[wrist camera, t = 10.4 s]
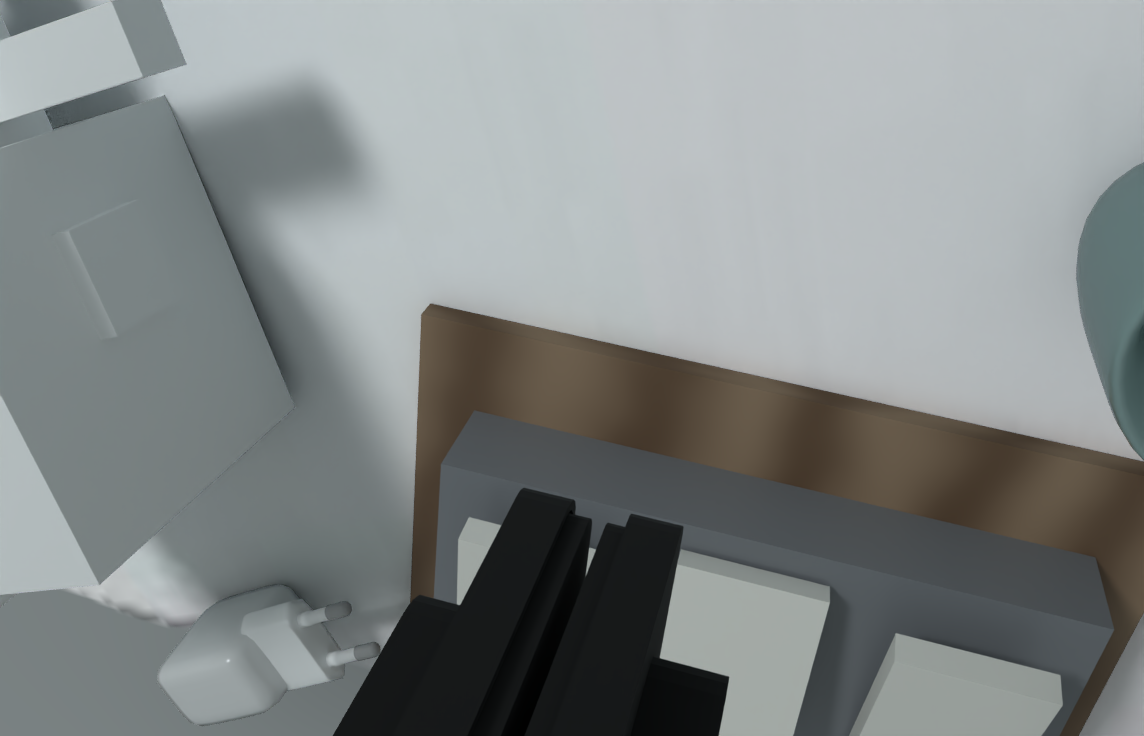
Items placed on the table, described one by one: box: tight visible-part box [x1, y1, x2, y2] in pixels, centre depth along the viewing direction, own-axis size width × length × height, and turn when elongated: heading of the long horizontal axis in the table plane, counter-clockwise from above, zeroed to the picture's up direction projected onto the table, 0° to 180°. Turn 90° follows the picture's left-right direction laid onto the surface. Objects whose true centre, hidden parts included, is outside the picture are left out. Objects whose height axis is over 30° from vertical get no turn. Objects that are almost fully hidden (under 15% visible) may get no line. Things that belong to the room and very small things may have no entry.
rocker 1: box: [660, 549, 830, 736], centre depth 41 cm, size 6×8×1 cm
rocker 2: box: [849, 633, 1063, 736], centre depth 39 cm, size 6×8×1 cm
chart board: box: [410, 304, 1144, 736], centre depth 46 cm, size 30×20×1 cm, turn 83°
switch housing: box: [434, 410, 1114, 736], centre depth 43 cm, size 25×10×5 cm, turn 83°
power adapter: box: [157, 584, 380, 726], centre depth 52 cm, size 11×5×6 cm, turn 118°
